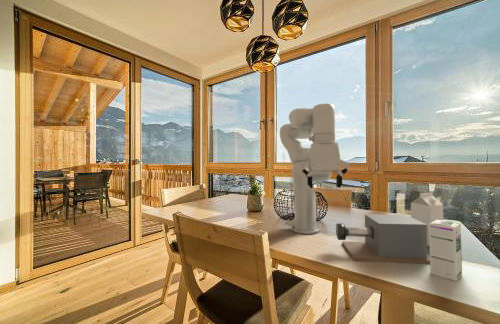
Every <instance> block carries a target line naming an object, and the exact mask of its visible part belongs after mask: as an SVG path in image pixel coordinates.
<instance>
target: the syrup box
mask: <svg viewBox="0 0 500 324" xmlns="http://www.w3.org/2000/svg"><path fill="white" fill-rule="evenodd" d="M461 225H462V224H461V223H459V222H455V221H449V220H444V219H443V220H435V221H433V222H431V223H429V244H430V246H429V258H430V264H429V271H430V274H432V275H435V276H437V277H441V278H444V279H446V280H449V281H453V282H457V281H458V280H459V279H460V278H461V276H462V275H463V263H462V262H463V261H462V259H463V258H462V257H463V256H462V228H461Z"/></svg>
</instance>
